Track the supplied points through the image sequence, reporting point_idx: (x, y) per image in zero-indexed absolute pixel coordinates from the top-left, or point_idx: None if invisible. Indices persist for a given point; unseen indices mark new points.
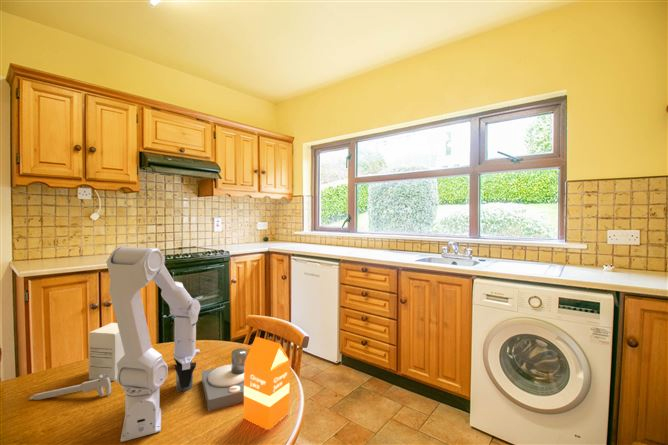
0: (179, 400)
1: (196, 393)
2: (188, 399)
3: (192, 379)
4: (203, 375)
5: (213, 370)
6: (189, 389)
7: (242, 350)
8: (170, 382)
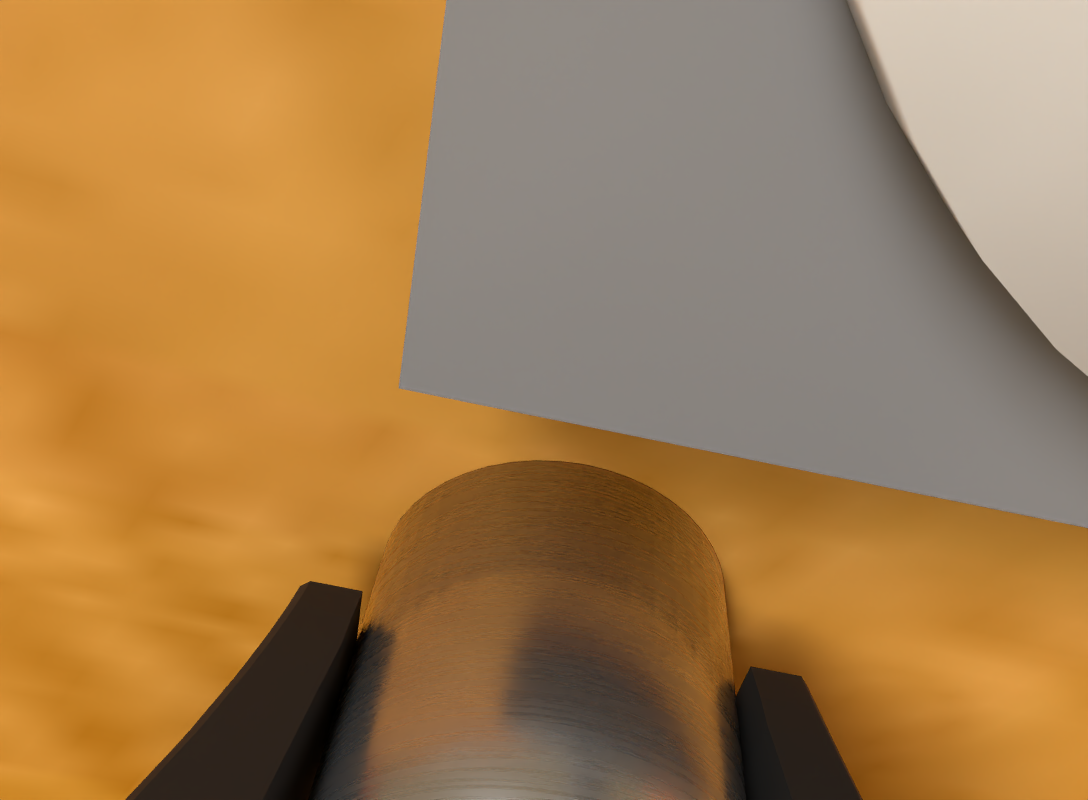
0: (966, 753)
1: None
2: (1085, 660)
3: (649, 638)
4: (800, 457)
5: (963, 108)
6: (714, 557)
7: None
8: (180, 694)
